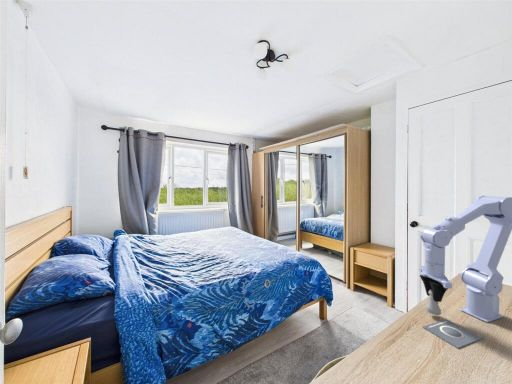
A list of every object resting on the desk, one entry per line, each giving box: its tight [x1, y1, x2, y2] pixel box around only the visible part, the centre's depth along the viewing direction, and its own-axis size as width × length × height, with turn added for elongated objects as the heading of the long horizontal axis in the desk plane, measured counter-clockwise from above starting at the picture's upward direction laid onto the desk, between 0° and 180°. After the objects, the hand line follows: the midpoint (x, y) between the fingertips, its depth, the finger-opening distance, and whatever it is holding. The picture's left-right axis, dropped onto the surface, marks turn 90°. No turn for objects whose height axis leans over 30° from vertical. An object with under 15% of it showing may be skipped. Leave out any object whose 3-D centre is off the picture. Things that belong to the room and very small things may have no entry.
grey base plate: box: [422, 318, 484, 349], centre depth 71 cm, size 12×10×1 cm
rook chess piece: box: [425, 289, 442, 316], centre depth 80 cm, size 4×4×8 cm
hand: (433, 298), depth 80 cm, fingers closed on rook chess piece, 3 cm apart
